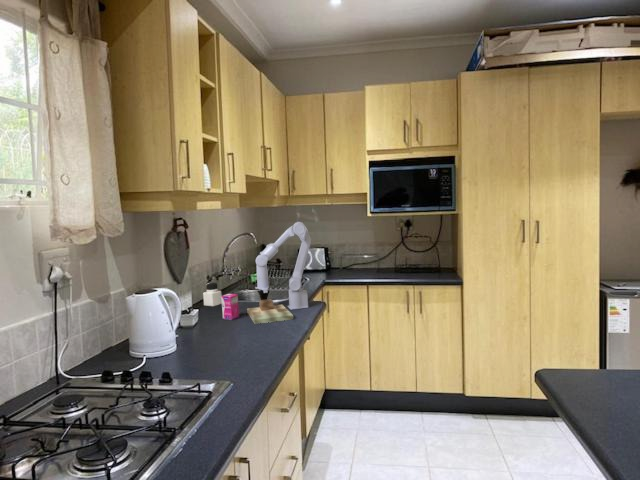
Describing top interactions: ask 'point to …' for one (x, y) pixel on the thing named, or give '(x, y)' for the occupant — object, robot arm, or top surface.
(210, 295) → the medicine bottle
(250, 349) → the top surface
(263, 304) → the walnut block
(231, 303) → the supplement box
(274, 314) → the trap deck
